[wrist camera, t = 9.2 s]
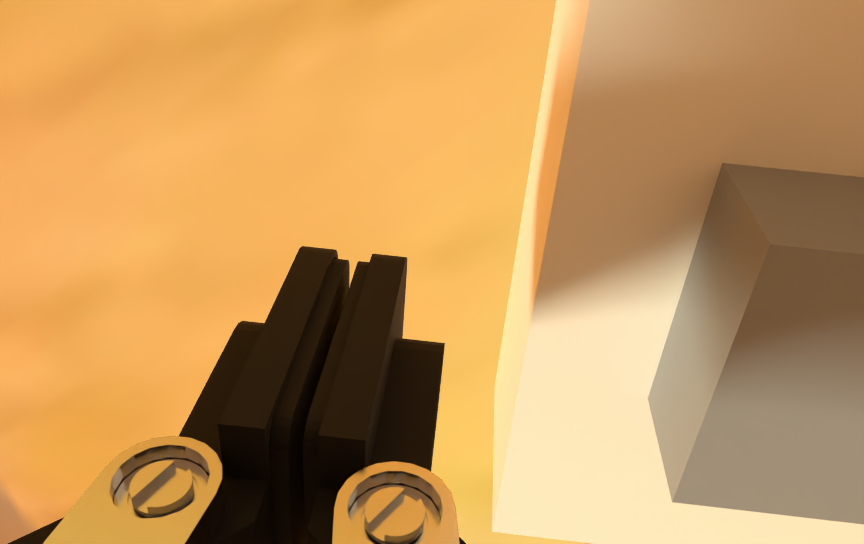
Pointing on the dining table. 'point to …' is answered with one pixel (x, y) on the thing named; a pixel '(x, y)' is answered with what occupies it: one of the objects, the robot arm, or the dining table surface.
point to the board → (648, 243)
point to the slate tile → (769, 350)
